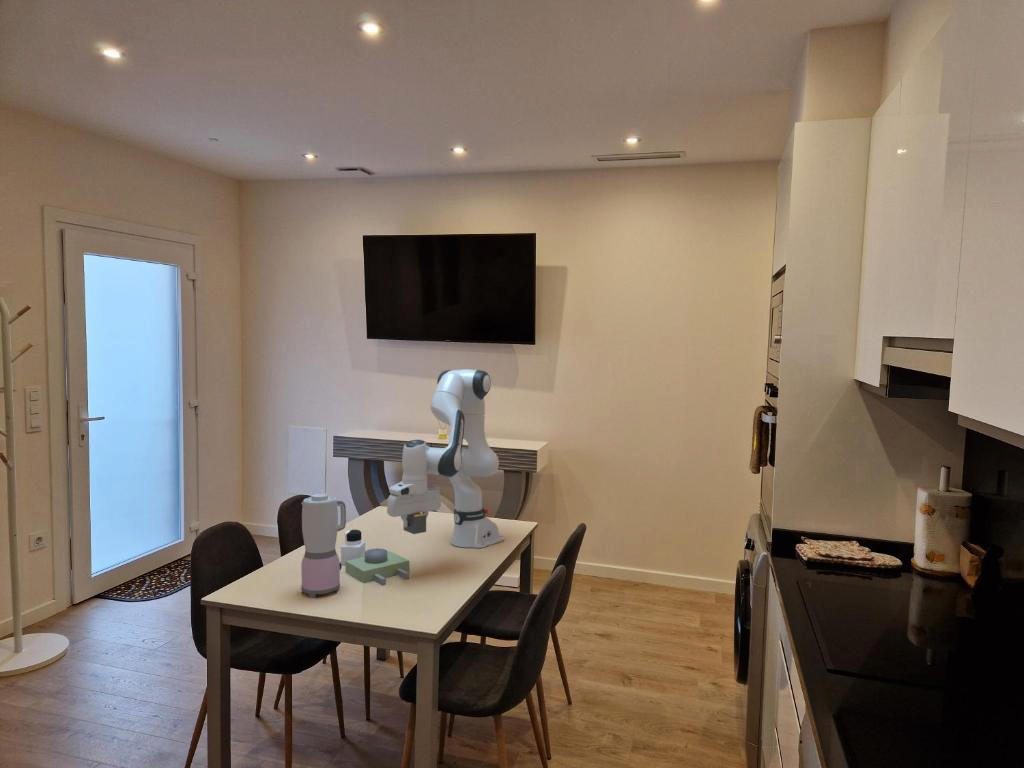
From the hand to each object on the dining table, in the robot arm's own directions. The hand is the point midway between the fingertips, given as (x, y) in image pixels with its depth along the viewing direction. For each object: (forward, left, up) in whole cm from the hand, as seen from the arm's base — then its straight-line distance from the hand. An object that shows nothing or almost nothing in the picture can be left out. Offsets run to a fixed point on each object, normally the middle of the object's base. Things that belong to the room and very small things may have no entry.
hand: (414, 525), depth 236 cm
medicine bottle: (+11, -26, -18) cm, 34 cm away
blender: (+31, -6, -18) cm, 36 cm away
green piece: (+9, -8, -18) cm, 21 cm away
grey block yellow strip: (0, 0, -2) cm, 2 cm away
